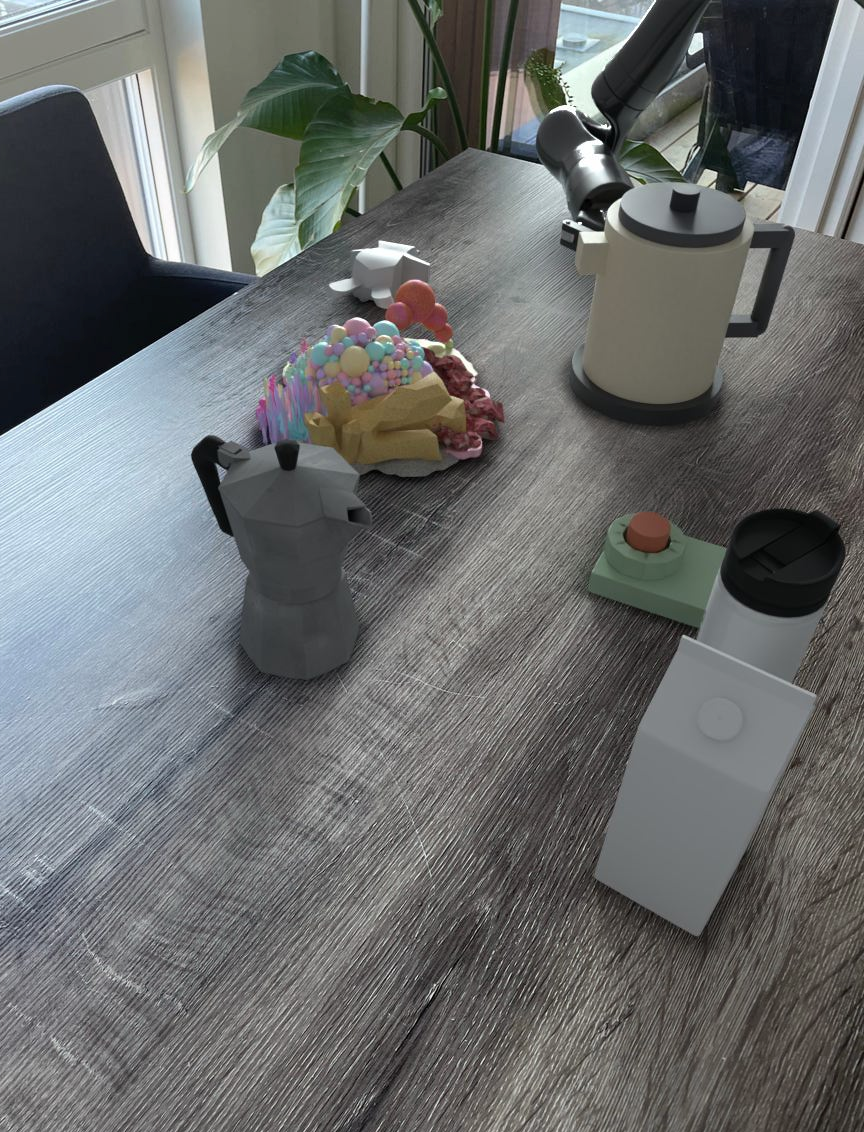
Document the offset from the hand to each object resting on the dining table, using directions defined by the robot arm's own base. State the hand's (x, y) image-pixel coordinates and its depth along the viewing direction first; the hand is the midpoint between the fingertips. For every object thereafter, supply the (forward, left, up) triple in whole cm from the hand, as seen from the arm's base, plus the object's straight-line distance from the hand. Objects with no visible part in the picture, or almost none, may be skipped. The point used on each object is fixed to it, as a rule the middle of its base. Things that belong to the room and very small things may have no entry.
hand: (633, 269), depth 108 cm
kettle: (-6, +8, -7) cm, 13 cm away
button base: (-17, +38, -7) cm, 42 cm away
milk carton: (-23, +64, -7) cm, 68 cm away
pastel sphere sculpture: (+17, +27, -7) cm, 32 cm away
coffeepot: (+9, +57, -7) cm, 58 cm away
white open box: (+27, +6, -7) cm, 28 cm away
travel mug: (-23, +54, -7) cm, 59 cm away
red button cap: (-13, +38, -3) cm, 40 cm away
